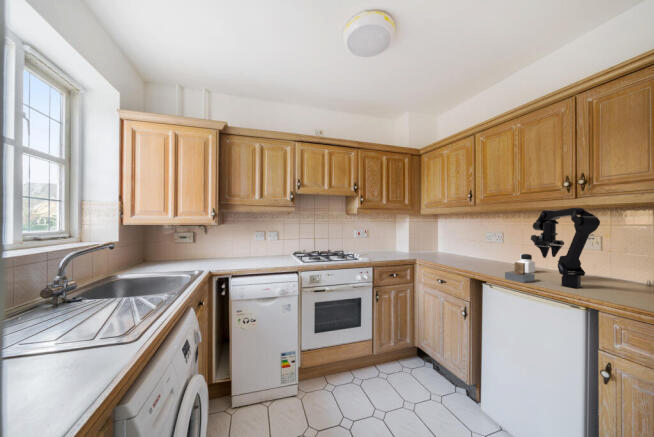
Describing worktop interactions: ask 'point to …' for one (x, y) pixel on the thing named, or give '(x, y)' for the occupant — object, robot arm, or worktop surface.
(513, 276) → the well block
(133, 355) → the worktop surface
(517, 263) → the brown tall square block
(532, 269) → the medicine bottle
